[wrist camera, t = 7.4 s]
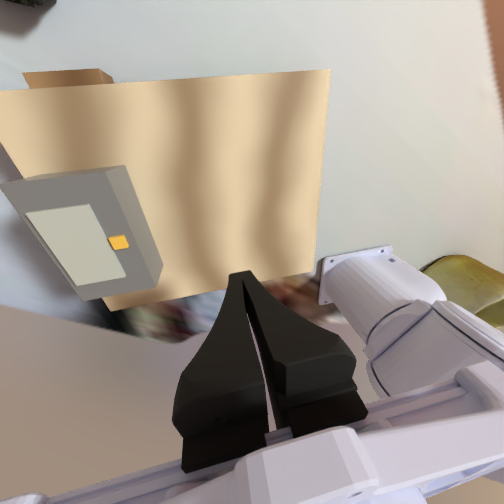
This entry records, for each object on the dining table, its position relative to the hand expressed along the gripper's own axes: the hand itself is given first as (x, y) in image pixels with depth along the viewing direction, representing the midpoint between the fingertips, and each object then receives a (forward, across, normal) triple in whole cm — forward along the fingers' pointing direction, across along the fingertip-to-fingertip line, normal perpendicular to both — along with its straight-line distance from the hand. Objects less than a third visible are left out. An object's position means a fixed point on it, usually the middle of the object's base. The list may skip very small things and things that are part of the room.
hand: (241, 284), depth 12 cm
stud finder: (+6, +9, -3) cm, 11 cm away
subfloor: (+9, +2, -3) cm, 10 cm away
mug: (+10, -30, +15) cm, 35 cm away
